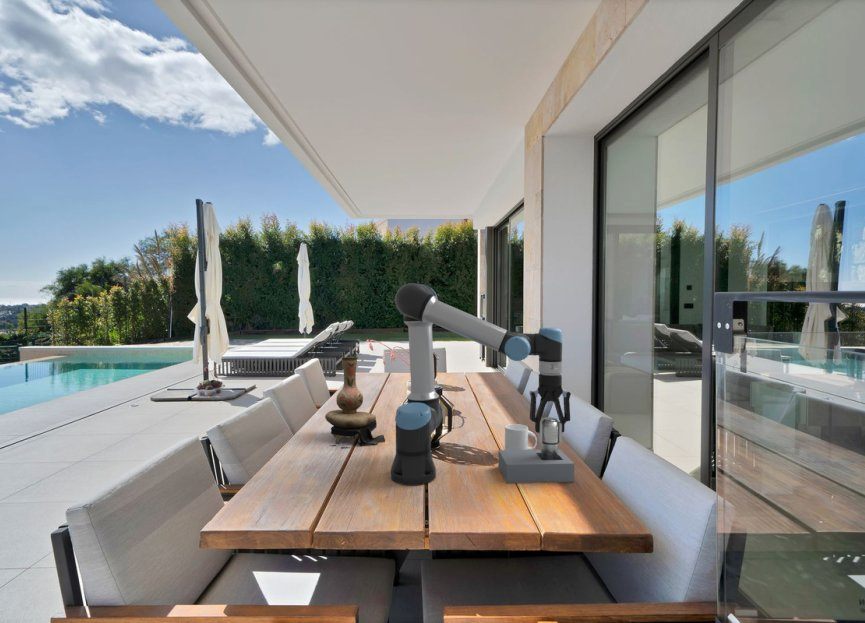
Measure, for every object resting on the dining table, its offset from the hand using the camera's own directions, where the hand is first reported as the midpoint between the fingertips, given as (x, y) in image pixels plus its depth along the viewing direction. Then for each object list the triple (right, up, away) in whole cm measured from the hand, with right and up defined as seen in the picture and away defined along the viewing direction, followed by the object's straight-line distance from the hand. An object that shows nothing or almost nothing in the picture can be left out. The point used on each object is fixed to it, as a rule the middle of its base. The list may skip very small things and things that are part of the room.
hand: (549, 441), depth 150 cm
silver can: (0, -5, 0) cm, 5 cm away
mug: (-6, -11, +19) cm, 23 cm away
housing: (-5, -11, 0) cm, 12 cm away
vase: (-73, -11, +39) cm, 83 cm away
